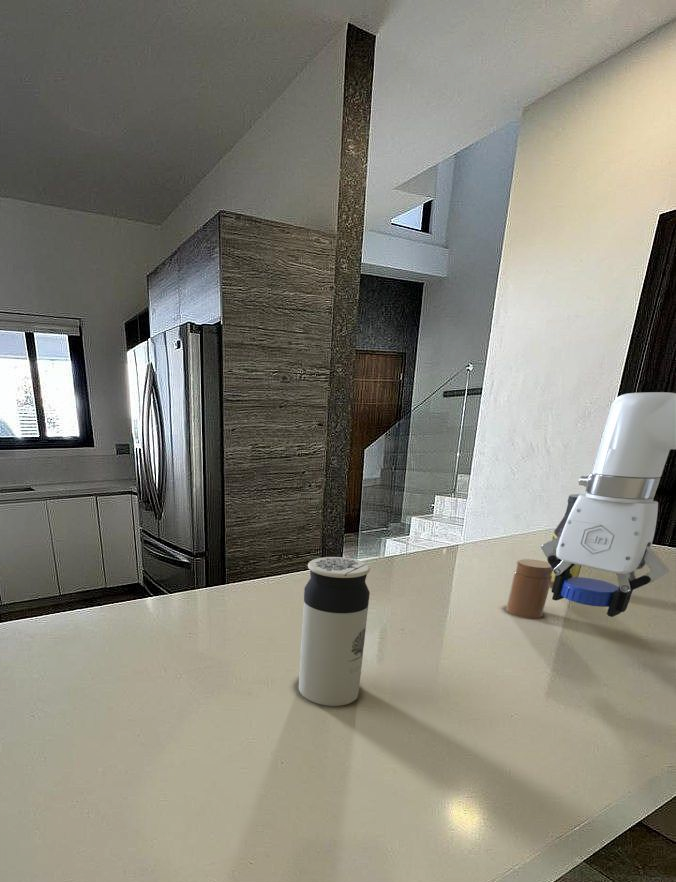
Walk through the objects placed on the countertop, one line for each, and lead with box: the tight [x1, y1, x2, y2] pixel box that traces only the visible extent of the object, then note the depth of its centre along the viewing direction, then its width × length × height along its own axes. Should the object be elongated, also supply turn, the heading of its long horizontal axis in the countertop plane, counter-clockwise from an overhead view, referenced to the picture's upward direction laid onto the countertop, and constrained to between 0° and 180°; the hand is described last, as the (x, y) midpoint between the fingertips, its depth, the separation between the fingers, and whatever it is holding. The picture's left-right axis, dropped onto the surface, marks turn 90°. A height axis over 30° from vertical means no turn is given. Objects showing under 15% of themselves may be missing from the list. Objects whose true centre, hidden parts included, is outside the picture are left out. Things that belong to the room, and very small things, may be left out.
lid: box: [561, 576, 619, 608], centre depth 73 cm, size 7×7×2 cm
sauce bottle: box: [546, 493, 582, 588], centre depth 102 cm, size 7×6×20 cm
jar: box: [505, 558, 553, 619], centre depth 89 cm, size 6×6×10 cm
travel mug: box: [298, 556, 371, 707], centre depth 62 cm, size 8×8×18 cm
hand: (585, 605), depth 73 cm, fingers closed on lid, 6 cm apart
